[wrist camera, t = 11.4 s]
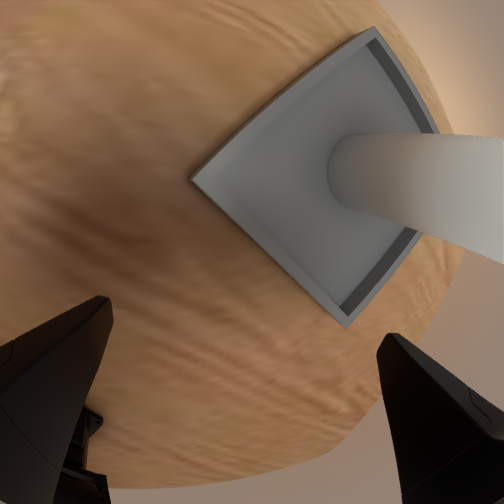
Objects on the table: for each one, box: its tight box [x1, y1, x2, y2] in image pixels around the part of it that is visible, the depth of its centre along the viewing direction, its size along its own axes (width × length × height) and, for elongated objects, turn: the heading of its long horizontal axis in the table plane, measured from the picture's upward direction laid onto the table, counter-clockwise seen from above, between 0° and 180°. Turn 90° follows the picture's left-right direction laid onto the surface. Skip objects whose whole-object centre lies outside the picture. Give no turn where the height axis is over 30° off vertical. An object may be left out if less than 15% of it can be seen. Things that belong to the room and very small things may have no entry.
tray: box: [188, 26, 440, 329], centre depth 19 cm, size 18×16×2 cm
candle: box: [328, 133, 504, 264], centre depth 13 cm, size 6×6×13 cm
